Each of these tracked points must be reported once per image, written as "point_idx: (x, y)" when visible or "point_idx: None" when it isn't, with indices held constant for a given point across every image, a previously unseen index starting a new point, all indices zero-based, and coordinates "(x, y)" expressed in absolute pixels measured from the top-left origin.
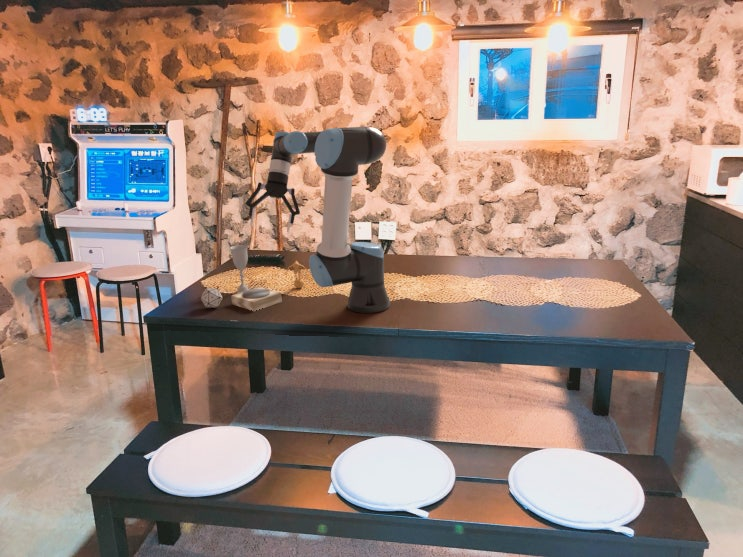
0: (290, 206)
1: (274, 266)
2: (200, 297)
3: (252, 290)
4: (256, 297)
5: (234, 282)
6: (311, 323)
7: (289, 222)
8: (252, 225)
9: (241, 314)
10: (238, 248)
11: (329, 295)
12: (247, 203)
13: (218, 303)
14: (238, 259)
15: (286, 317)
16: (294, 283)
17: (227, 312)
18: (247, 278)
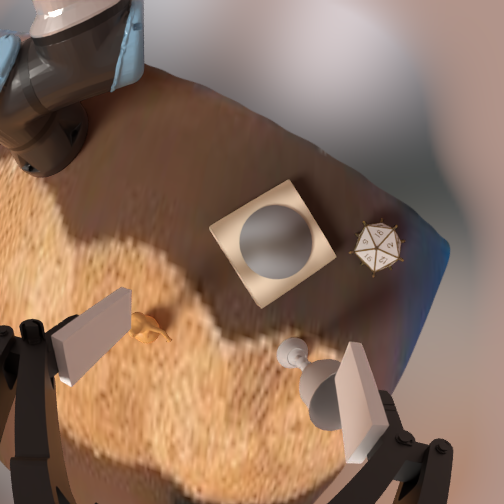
0: (22, 380)
1: (197, 500)
2: (400, 241)
3: (284, 267)
4: (279, 205)
5: (302, 423)
6: (181, 80)
7: (93, 310)
8: (343, 357)
9: (311, 179)
10: (335, 419)
11: (91, 234)
12: (442, 444)
13: (361, 231)
14: (335, 361)
15: (219, 123)
16: (157, 325)
17: (338, 205)
18: (269, 444)
